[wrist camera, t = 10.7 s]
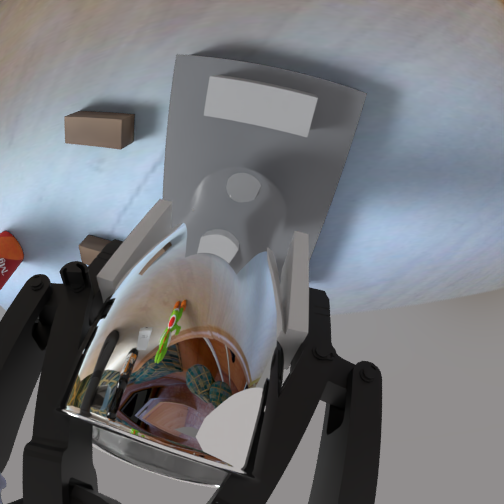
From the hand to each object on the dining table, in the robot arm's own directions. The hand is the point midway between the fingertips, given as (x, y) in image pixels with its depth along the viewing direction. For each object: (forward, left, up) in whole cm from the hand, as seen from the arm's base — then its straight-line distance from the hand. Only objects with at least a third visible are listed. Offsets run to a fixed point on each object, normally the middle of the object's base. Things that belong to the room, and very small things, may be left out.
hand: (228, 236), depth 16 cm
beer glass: (0, 0, -3) cm, 3 cm away
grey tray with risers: (0, 0, -8) cm, 8 cm away
